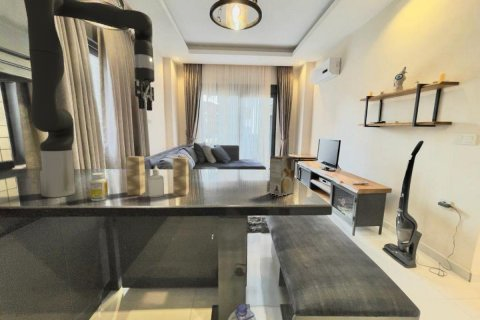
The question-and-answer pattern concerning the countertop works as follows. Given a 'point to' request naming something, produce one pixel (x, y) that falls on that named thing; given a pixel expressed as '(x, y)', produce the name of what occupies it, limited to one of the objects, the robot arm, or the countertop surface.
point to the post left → (135, 175)
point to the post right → (180, 176)
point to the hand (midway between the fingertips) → (145, 109)
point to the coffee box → (282, 175)
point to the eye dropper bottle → (156, 184)
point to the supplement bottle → (98, 187)
